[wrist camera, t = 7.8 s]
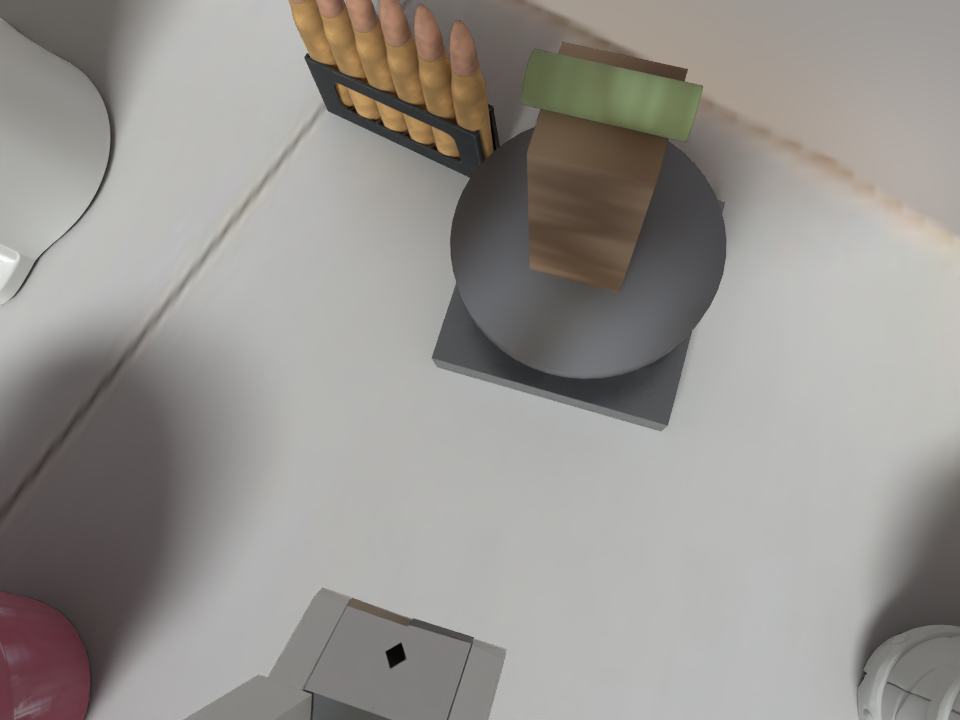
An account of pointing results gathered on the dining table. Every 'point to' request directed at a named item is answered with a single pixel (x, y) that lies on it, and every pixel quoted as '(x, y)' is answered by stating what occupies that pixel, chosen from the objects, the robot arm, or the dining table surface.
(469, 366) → the stand
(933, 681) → the mug
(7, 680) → the plant pot
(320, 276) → the dining table surface
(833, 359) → the dining table surface
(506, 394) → the dining table surface
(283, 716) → the robot arm
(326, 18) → the ammunition clip
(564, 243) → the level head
